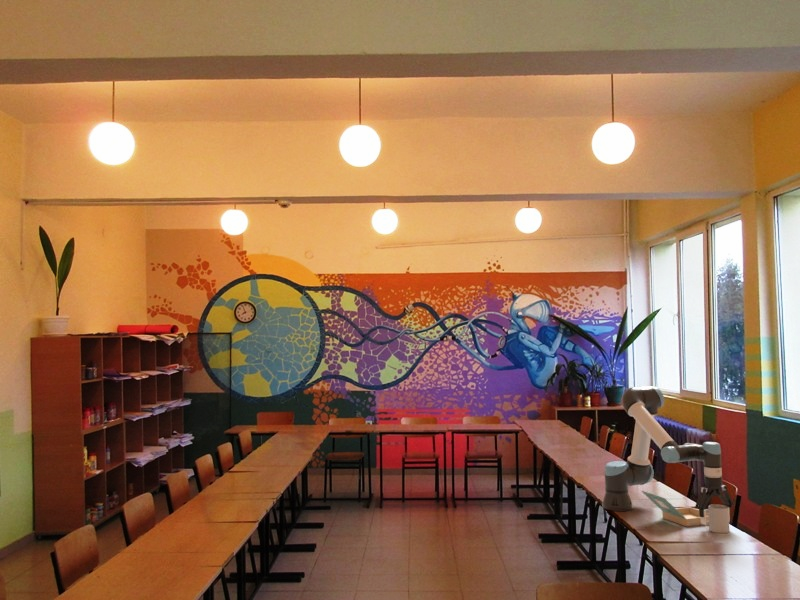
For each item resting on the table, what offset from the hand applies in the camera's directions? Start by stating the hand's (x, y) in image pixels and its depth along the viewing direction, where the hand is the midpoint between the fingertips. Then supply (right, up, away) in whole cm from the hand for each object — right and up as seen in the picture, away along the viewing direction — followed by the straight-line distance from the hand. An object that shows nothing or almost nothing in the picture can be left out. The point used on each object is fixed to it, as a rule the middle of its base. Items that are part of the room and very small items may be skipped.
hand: (715, 522), depth 315 cm
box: (-5, -5, +17) cm, 19 cm away
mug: (0, -4, 0) cm, 4 cm away
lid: (-19, +5, +13) cm, 23 cm away
